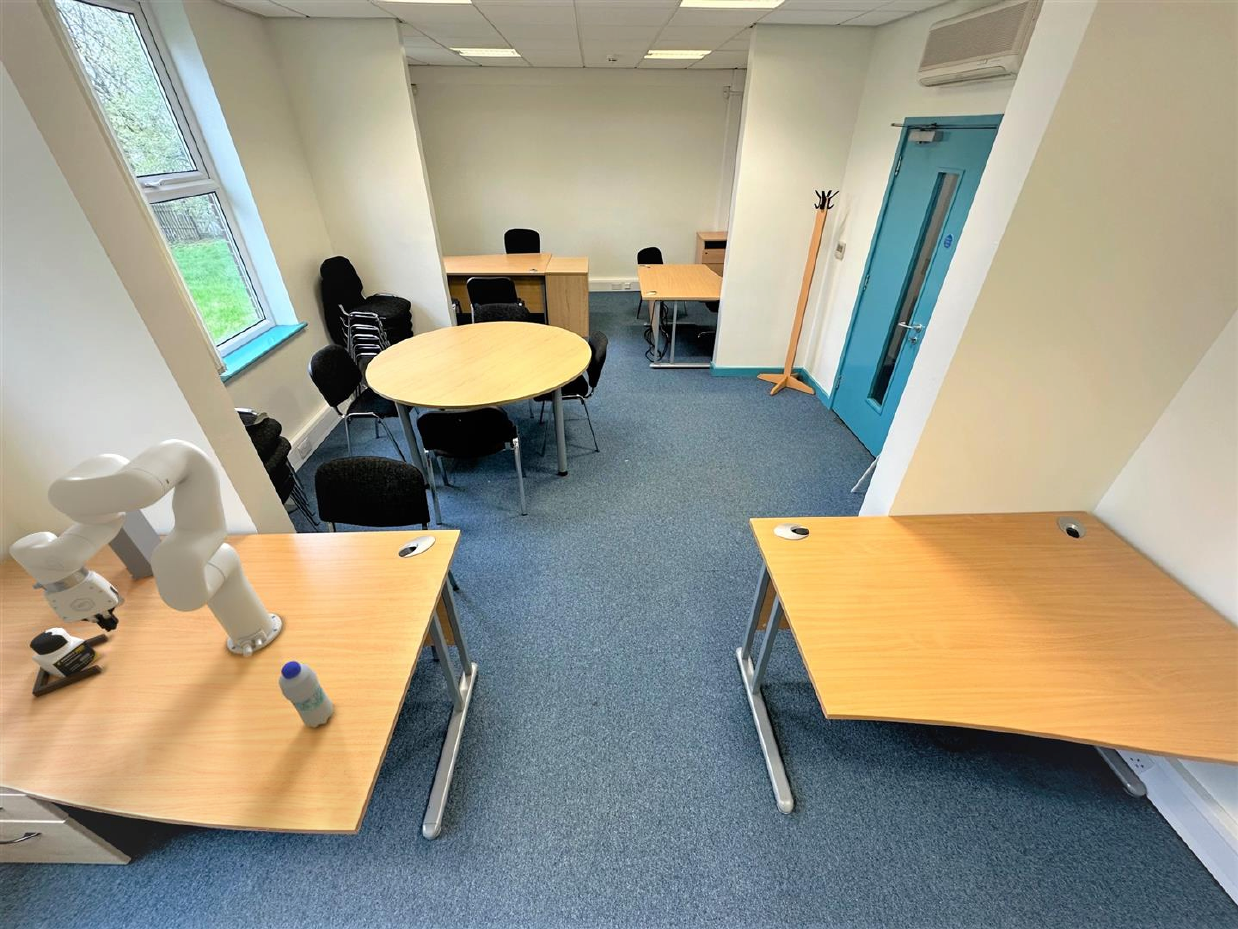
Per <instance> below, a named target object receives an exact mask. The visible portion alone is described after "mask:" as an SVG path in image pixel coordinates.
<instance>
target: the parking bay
mask: <svg viewBox="0 0 1238 929" xmlns="http://www.w3.org/2000/svg"><path fill="white" fill-rule="evenodd" d="M84 640H85V641H86V642H87V643H88V644H89V645H90V646H91V647H92V648H93V647H96V646H99V645H100V644H104V643H106V642H109V641H108V640H109V637H108V636H107V635H106V634H105V633H101V634H99V635H96V636H93V637H91V638H88V639H84ZM102 670H103V669H102V668H101V667H100V666H99V665H98V664H94V665H92V666H90V667H86V668H85V669H84V670H82V671H80V672H77V673H74V674H72V675H69V676H67V677H64V678H59V679H57V680H54V681H52V682H49V679H50V676H51V675H50V674H49V673H48V672H46V671H45V670H44V669H43V668H42V667H41V666H40V665H39V670H38V673H37V676H36V679H35V682H34V686H33V687H32V688H33V689H32V691H31V694H32V695H33V696H34V697H36V699H38V698H40V697H43V696H46V695H48V694H51V693H53V692H56V691H58V690H61V689H63V688H66V687H68V686H71V685H73V684H76V683H78V682H80V681H83V680H86V679H88V678H91V677H94V676H96V675H99V674H101V673H102Z"/></svg>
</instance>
